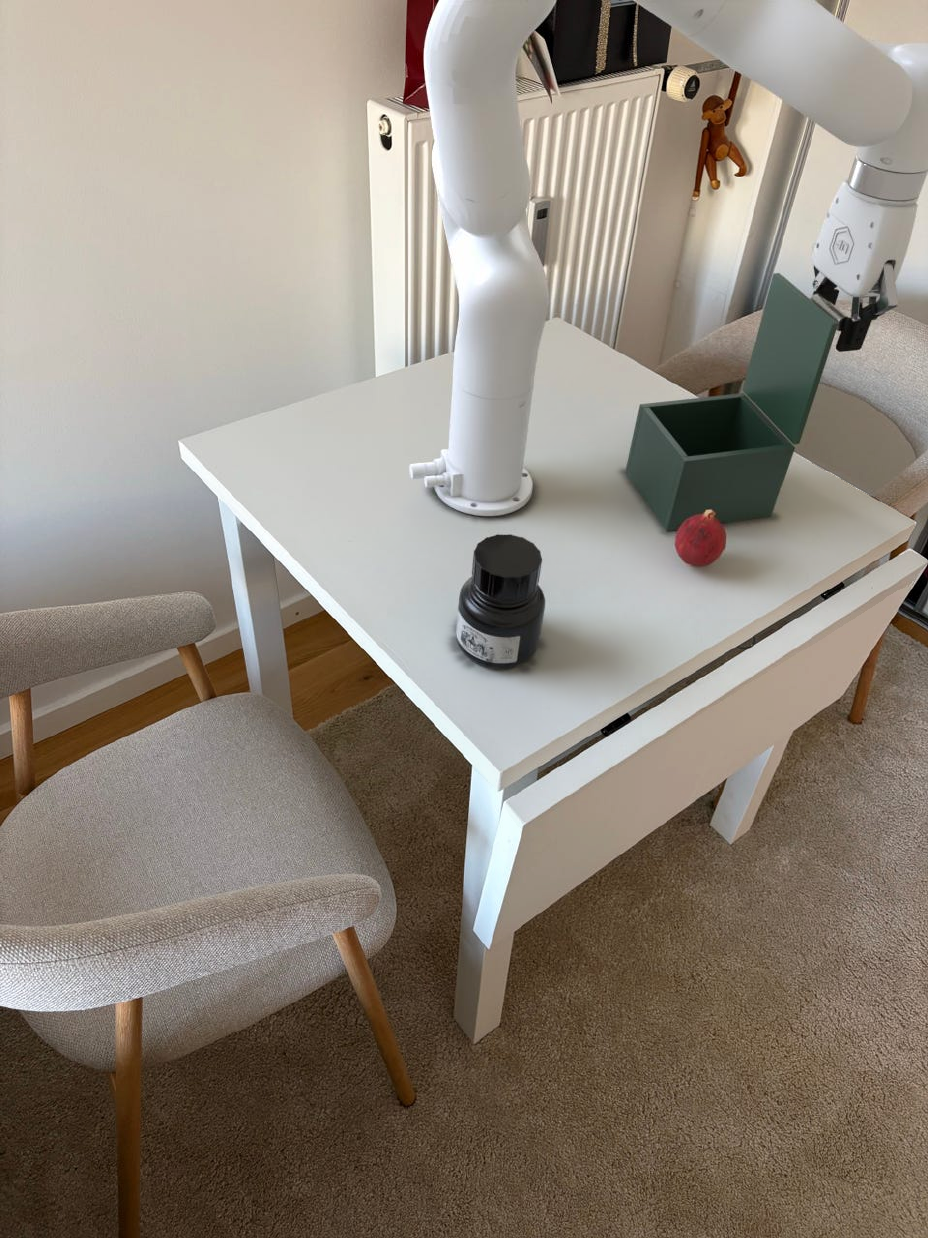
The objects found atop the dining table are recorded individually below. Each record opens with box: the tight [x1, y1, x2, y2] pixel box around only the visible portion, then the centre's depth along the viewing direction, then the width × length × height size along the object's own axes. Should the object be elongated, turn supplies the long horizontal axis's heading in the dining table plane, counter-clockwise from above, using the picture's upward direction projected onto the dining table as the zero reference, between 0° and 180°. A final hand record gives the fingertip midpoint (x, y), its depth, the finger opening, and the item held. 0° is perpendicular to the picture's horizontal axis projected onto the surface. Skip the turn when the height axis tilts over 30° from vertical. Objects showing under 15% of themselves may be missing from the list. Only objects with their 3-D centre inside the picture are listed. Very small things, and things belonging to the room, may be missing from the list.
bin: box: [624, 392, 796, 532], centre depth 124 cm, size 15×13×10 cm
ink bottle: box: [455, 533, 546, 670], centre depth 102 cm, size 10×9×12 cm
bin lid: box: [742, 272, 850, 446], centre depth 118 cm, size 16×13×5 cm
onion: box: [674, 509, 727, 568], centre depth 115 cm, size 6×6×8 cm
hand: (832, 334), depth 117 cm, fingers closed on bin lid, 6 cm apart
